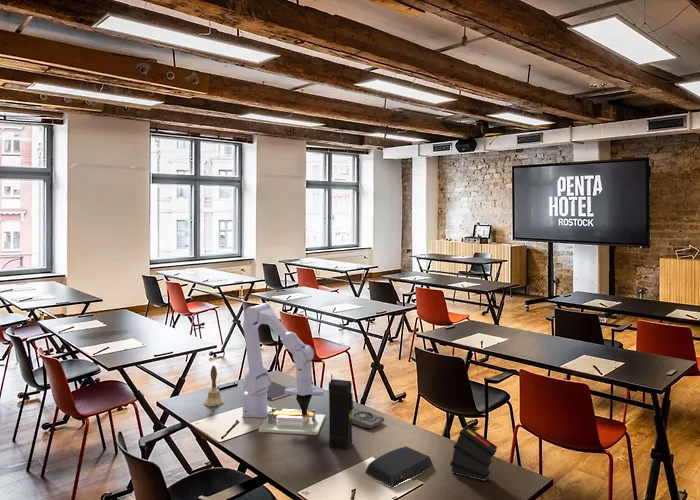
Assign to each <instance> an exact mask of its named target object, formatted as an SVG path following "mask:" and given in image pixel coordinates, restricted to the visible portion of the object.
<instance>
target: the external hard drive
mask: <svg viewBox="0 0 700 500" xmlns="http://www.w3.org/2000/svg"><path fill="white" fill-rule="evenodd" d="M432 465H433V466H434V464H433V461H432V460H431V457H430V455H427V454H425V453H422V452H421V451H417V450H415V449H413V448H411V447H409V446H407V445H405V446H402V447H397V448H395V449H392V450H390V451H388V452H385V453H383V454H381V455H379V456H378V457H376V458H375V459H373V460H372V461H371V462H369V464H368V465H367V467H366V469H365V471H364V474H365V475H366V474H367V476H369V477H370V476H371V477H370V478H372V479H374V480H376V481H377V480H378V482H379V481H381V482H383V483H384V484H383V483H382V484H383V485H385V484H386V485H385V486H387V485H388V486H387V487H389V486H390V487H389V488H391V487H394V486H396V485H398V484H399V483H401V482H403V481H405V480H407V479H409V478H412V477H414V476H416V475H418V474H420V473H422V472H423V471H425V470H427V469H428V468H430V467H431V466H432ZM431 468H432V467H431ZM431 468H430V469H431ZM427 471H428V470H427ZM422 474H423V473H422ZM381 482H380V483H381ZM394 488H395V487H394Z"/></svg>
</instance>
